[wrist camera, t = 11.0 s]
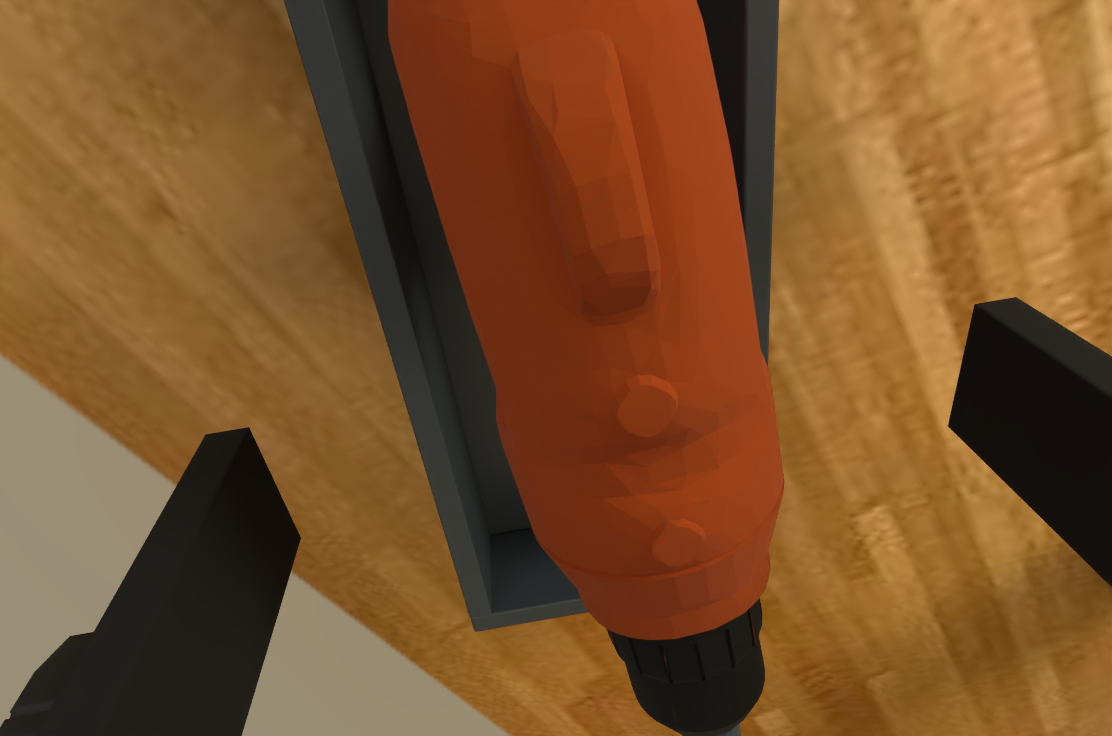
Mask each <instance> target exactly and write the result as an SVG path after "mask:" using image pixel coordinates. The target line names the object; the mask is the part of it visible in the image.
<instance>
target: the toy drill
mask: <svg viewBox="0 0 1112 736" xmlns="http://www.w3.org/2000/svg"><path fill="white" fill-rule="evenodd" d="M388 37H389V41H390V45H391V49H392V53H393V57H394V61H395V65H396V69H397V72H398V76H399V79H400V83H401V86H402V90H403V93H404V97H405V100H406V104H407V108H408V112H409V116H410V120H411V123H412V126H413V130H414V133H415V136H416V140H417V143H418V146H419V149H420V153H421V156H422V159H423V163H424V166H425V169H426V173H427V176H428V179H429V183H430V186H431V189H432V192H433V196H434V199H435V202H436V206H437V209H438V212H439V216H440V219H441V222H442V225H443V229H444V232H445V235H446V239H447V242H448V245H449V249H450V252H451V254H452V257H453V260H454V263H455V266H456V269H457V273H458V276H459V279H460V282H461V285H462V289H463V292H464V295H465V298H466V301H467V304H468V308H469V311H470V314H471V317H472V320H473V323H474V326H475V329H476V332H477V335H478V337H479V340H480V343H481V346H482V349H483V352H484V355H485V357H486V360H487V363H488V366H489V369H490V372H491V375H492V377H493V380H494V383H495V386H496V421H497V426H498V430H499V434H500V438H501V442H502V445H503V448H504V451H505V454H506V457H507V459H508V462H509V465H510V468H511V471H512V473H513V476H514V479H515V482H516V485H517V487H518V490H519V493H520V496H521V499H522V501H523V504H524V507H525V510H526V513H527V515H528V518H529V521H530V524H531V527H532V530H533V533H534V535H535V538H536V540H537V541H538V543H539V544H540V546H541V547H542V548H543V549H544V551H545V552H546V553H547V554H548V555H549V556H550V558H551V559H552V560H553V561H554V562H555V564H556V565H557V566H558V567H559V568H560V569H561V571H562V572H563V573H564V574H565V575H566V577H567V578H568V579H569V580H570V581H571V582H572V584H573V585H574V586H575V587H577V590H578V592H579V595H580V597H581V599H582V602H583V604H584V606H585V607H586V608H587V610H588V611H589V613H590V614H591V615H592V616H593V617H594V618H595V619H596V620H597V621H598V622H599V623H600V624H601V625H603V626H604V627H605V628H606V629H607V631H608V634H609V636H610V638H611V641H612V643H613V645H614V647H615V649H616V651H617V653H618V655H619V656H620V658H621V659H622V660H623V661H624V662H625V664H626V667H627V671H628V674H629V677H630V681H631V684H632V687H633V690H634V693H635V695H636V698H637V700H638V702H639V703H640V705H641V707H642V708H643V709H644V710H645V711H646V712H647V714H648V715H650V716H651V717H652V718H653V719H655V720H656V721H657V722H659V723H661V724H663V725H665V726H667V727H669V728H671V729H672V730H674V731H676V732H678V733H680V734H682V735H683V736H741V733H740V726H739V723H741V722H742V721H743V720H744V719H745V717H746V716H747V715H748V713H749V712H750V711H751V709H752V708H753V707H754V705H755V704H756V702H757V701H758V699H759V697H760V695H761V693H762V690H763V686H764V682H765V668H764V662H763V656H762V651H761V645H760V640H759V632H760V629H761V626H762V609H761V603H760V596H761V594H762V593H763V591H764V590H765V587H766V584H767V582H768V578H769V572H770V556H769V546H770V542H771V538H772V534H773V530H774V527H775V523H776V519H777V515H778V512H779V508H780V504H781V500H782V497H783V490H784V475H783V470H782V462H781V455H780V447H779V439H778V431H777V423H776V415H775V407H774V399H773V391H772V385H771V379H770V374H769V370H768V367H767V364H766V361H765V358H764V356H763V354H762V352H761V348H760V342H759V335H758V327H757V320H756V313H755V305H754V298H753V291H752V284H751V276H750V269H749V262H748V255H747V247H746V241H745V235H744V229H743V222H742V216H741V210H740V204H739V198H738V191H737V185H736V179H735V173H734V167H733V160H732V154H731V148H730V144H729V139H728V134H727V130H726V125H725V120H724V116H723V111H722V106H721V102H720V97H719V92H718V88H717V83H716V78H715V74H714V69H713V64H712V60H711V55H710V50H709V46H708V41H707V36H706V32H705V27H704V22H703V19H702V16H701V13H700V10H699V7H698V4H697V1H696V0H388Z"/></svg>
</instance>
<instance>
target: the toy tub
mask: <svg viewBox="0 0 1112 736" xmlns="http://www.w3.org/2000/svg"><path fill="white" fill-rule="evenodd" d="M696 1H697V4H698V7H699V10H700V13H701V16H702V19H703V22H704V27H705V32H706V36H707V41H708V46H709V50H710V55H711V60H712V64H713V69H714V74H715V78H716V83H717V88H718V92H719V97H720V102H721V106H722V111H723V116H724V120H725V125H726V130H727V134H728V139H729V144H730V148H731V154H732V160H733V167H734V173H735V179H736V185H737V191H738V198H739V204H740V210H741V216H742V222H743V229H744V235H745V241H746V247H747V255H748V262H749V269H750V276H751V284H752V291H753V298H754V305H755V313H756V320H757V327H758V335H759V342H760V348H761V352H762V354H763V356H764V358H765V361H766V364H767V367H768V343H769V311H770V278H771V246H772V213H773V181H774V148H775V115H776V83H777V50H778V18H779V0H696ZM284 3H285V6H286V9H287V13H288V16H289V19H290V23H291V26H292V29H293V33H294V36H295V39H296V42H297V46H298V49H299V52H300V56H301V59H302V62H303V66H304V69H305V72H306V76H307V79H308V82H309V86H310V89H311V92H312V96H313V99H314V102H315V105H316V109H317V112H318V115H319V119H320V122H321V125H322V129H323V132H324V135H325V139H326V142H327V145H328V149H329V152H330V155H331V158H332V162H333V165H334V168H335V172H336V175H337V178H338V182H339V185H340V188H341V192H342V195H343V198H344V202H345V205H346V208H347V212H348V215H349V218H350V221H351V225H352V228H353V231H354V235H355V238H356V241H357V245H358V248H359V251H360V255H361V258H362V261H363V265H364V268H365V271H366V274H367V278H368V281H369V284H370V288H371V291H372V294H373V298H374V301H375V304H376V308H377V311H378V314H379V318H380V321H381V324H382V328H383V331H384V334H385V337H386V341H387V344H388V347H389V351H390V354H391V357H392V361H393V364H394V367H395V371H396V374H397V377H398V381H399V384H400V387H401V390H402V394H403V397H404V400H405V404H406V407H407V410H408V414H409V417H410V420H411V424H412V427H413V430H414V434H415V437H416V440H417V444H418V447H419V450H420V453H421V457H422V460H423V463H424V467H425V470H426V473H427V477H428V480H429V483H430V487H431V490H432V493H433V497H434V500H435V503H436V506H437V510H438V513H439V516H440V520H441V523H442V526H443V530H444V533H445V536H446V540H447V543H448V546H449V550H450V553H451V556H452V559H453V563H454V566H455V569H456V573H457V576H458V579H459V583H460V586H461V589H462V593H463V596H464V599H465V603H466V606H467V609H468V613H469V616H470V618H471V621H472V625H473V628H474V630H475V631H476V632H477V631H483V630H489V629H494V628H500V627H506V626H511V625H517V624H523V623H528V622H534V621H540V620H545V619H551V618H557V617H562V616H568V615H574V614H579V613H585V612H589V611H588V610H587V608H586V607H585V606H584V604H583V602H582V599H581V597H580V595H579V592H578V590H577V587H575V586H574V585H573V584H572V582H571V581H570V580H569V579H568V578H567V577H566V575H565V574H564V573H563V572H562V571H561V569H560V568H559V567H558V566H557V565H556V564H555V562H554V561H553V560H552V559H551V558H550V556H549V555H548V554H547V553H546V552H545V551H544V549H543V548H542V547H541V546H540V544H539V543H538V541H537V540H536V538H535V535H534V533H533V530H532V527H531V524H530V521H529V518H528V515H527V513H526V510H525V507H524V504H523V501H522V499H521V496H520V493H519V490H518V487H517V485H516V482H515V479H514V476H513V473H512V471H511V468H510V465H509V462H508V459H507V457H506V454H505V451H504V448H503V445H502V442H501V438H500V434H499V430H498V426H497V421H496V386H495V383H494V380H493V377H492V375H491V372H490V369H489V366H488V363H487V360H486V357H485V355H484V352H483V349H482V346H481V343H480V340H479V337H478V335H477V332H476V329H475V326H474V323H473V320H472V317H471V314H470V311H469V308H468V304H467V301H466V298H465V295H464V292H463V289H462V285H461V282H460V279H459V276H458V273H457V269H456V266H455V263H454V260H453V257H452V254H451V252H450V249H449V245H448V242H447V239H446V235H445V232H444V229H443V225H442V222H441V219H440V216H439V212H438V209H437V206H436V202H435V199H434V196H433V192H432V189H431V186H430V183H429V179H428V176H427V173H426V169H425V166H424V163H423V159H422V156H421V153H420V149H419V146H418V143H417V140H416V136H415V133H414V130H413V126H412V123H411V120H410V116H409V112H408V108H407V104H406V100H405V97H404V93H403V90H402V86H401V83H400V79H399V76H398V72H397V69H396V65H395V61H394V57H393V53H392V49H391V45H390V41H389V37H388V0H284Z"/></svg>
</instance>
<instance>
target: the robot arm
mask: <svg viewBox="0 0 1112 736" xmlns="http://www.w3.org/2000/svg"><path fill="white" fill-rule="evenodd" d="M948 427H949V428H950V429H951V430H952V431H953V432H954V433H955V434H956V435H957V436H958V437H959V438H961V439H962V440H963V441H964V442H965V443H966V444H967V445H968V446H969V447H970V448H971V449H972V450H973V451H974V452H975V453H976V454H977V455H978V456H979V457H980V458H981V459H982V460H983V461H984V462H985V463H986V464H987V465H988V466H989V467H990V468H991V469H992V470H993V471H994V472H995V473H996V474H997V475H998V476H999V477H1000V478H1001V479H1002V480H1003V481H1004V482H1005V483H1006V484H1007V485H1008V486H1009V487H1010V488H1011V489H1012V490H1013V491H1014V492H1015V493H1017V494H1018V495H1019V496H1020V497H1021V498H1022V499H1023V500H1024V501H1025V502H1026V503H1027V504H1028V505H1029V506H1030V507H1031V508H1032V509H1033V510H1034V511H1035V512H1036V513H1037V514H1038V515H1039V516H1040V517H1041V518H1042V519H1043V520H1044V521H1045V522H1046V523H1047V524H1048V525H1049V526H1050V527H1051V528H1052V529H1053V530H1054V531H1055V532H1056V533H1057V534H1058V535H1059V536H1060V537H1061V538H1062V539H1063V540H1064V541H1065V542H1066V543H1067V544H1068V545H1069V546H1070V547H1071V548H1072V549H1074V550H1075V551H1076V552H1077V553H1078V554H1079V555H1080V556H1081V557H1082V558H1083V559H1084V560H1085V561H1086V562H1087V563H1088V564H1089V565H1090V566H1091V567H1092V568H1093V569H1094V570H1095V571H1096V572H1097V573H1098V574H1099V575H1100V576H1101V577H1102V578H1103V579H1104V580H1105V581H1106V582H1107V583H1108V584H1109V585H1110V586H1111V587H1112V357H1111V356H1110V355H1108V354H1107V353H1105V352H1103V351H1102V350H1100V349H1099V348H1097V347H1095V346H1094V345H1092V344H1091V343H1089V342H1087V341H1086V340H1084V339H1082V338H1081V337H1079V336H1078V335H1076V334H1074V333H1073V332H1071V331H1070V330H1068V329H1066V328H1065V327H1063V326H1062V325H1060V324H1058V323H1057V322H1055V321H1054V320H1052V319H1050V318H1049V317H1047V316H1045V315H1044V314H1042V313H1041V312H1039V311H1037V310H1036V309H1034V308H1033V307H1031V306H1029V305H1028V304H1026V303H1025V302H1023V301H1021V300H1020V299H1018V298H1016V297H1015V298H1009V299H1003V300H997V301H991V302H985V303H979V304H975V305H974V310H973V314H972V319H971V323H970V328H969V332H968V337H967V342H966V346H965V351H964V355H963V360H962V364H961V369H960V373H959V378H958V383H957V387H956V392H955V396H954V401H953V405H952V410H951V415H950V419H949V424H948ZM300 539H301V537H300V535H299V533H298V531H297V529H296V527H295V524H294V522H293V520H292V518H291V516H290V514H289V512H288V509H287V507H286V505H285V503H284V501H283V499H282V497H281V495H280V492H279V490H278V488H277V486H276V484H275V482H274V480H273V477H272V475H271V473H270V471H269V469H268V467H267V465H266V463H265V460H264V458H263V456H262V454H261V452H260V450H259V448H258V445H257V443H256V441H255V439H254V437H253V435H252V433H251V431H250V428H249V427H248V428H242V429H236V430H230V431H224V432H218V433H212V434H207V435H205V437H204V439H203V440H202V442H201V444H200V446H199V447H198V449H197V451H196V453H195V454H194V456H193V458H192V460H191V461H190V463H189V465H188V467H187V469H186V470H185V472H184V474H183V476H182V477H181V479H180V481H179V483H178V484H177V486H176V488H175V490H174V491H173V493H172V495H171V497H170V499H169V500H168V502H167V504H166V506H165V507H164V509H163V511H162V513H161V514H160V516H159V518H158V520H157V521H156V523H155V525H154V527H153V528H152V530H151V532H150V534H149V536H148V537H147V539H146V541H145V543H144V545H143V546H142V548H141V550H140V551H139V553H138V555H137V557H136V558H135V560H134V562H133V564H132V566H131V567H130V569H129V571H128V573H127V574H126V576H125V578H124V580H123V581H122V583H121V585H120V587H119V588H118V590H117V592H116V594H115V596H114V597H113V599H112V601H111V603H110V604H109V606H108V608H107V610H106V612H105V613H104V615H103V617H102V618H101V620H100V622H99V624H98V626H97V627H96V629H95V631H94V632H91V633H86V634H80V635H74V636H70V637H69V638H68V639H67V640H66V641H65V642H64V643H63V644H62V645H61V646H60V647H59V648H58V649H57V650H56V651H55V652H54V653H53V654H52V655H51V656H50V657H49V658H48V659H47V660H46V661H45V662H44V663H43V664H42V665H41V666H40V667H39V668H38V669H37V670H36V671H35V672H34V674H33V676H32V677H31V679H30V680H29V682H28V683H27V685H26V687H25V688H24V690H23V691H22V693H21V695H20V696H19V698H18V700H17V701H16V703H15V704H14V706H13V708H12V710H11V711H10V713H11V716H10V718H9V719H6V720H5V721H4V722H3V724H2V725H1V727H0V736H242V732H243V729H244V726H245V722H246V719H247V716H248V712H249V709H250V706H251V702H252V699H253V696H254V692H255V689H256V686H257V682H258V679H259V676H260V672H261V669H262V666H263V662H264V659H265V656H266V652H267V649H268V646H269V643H270V639H271V636H272V633H273V629H274V626H275V623H276V619H277V616H278V613H279V609H280V606H281V603H282V599H283V596H284V592H285V589H286V586H287V582H288V579H289V576H290V573H291V569H292V566H293V563H294V559H295V556H296V553H297V549H298V546H299V543H300Z"/></svg>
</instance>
